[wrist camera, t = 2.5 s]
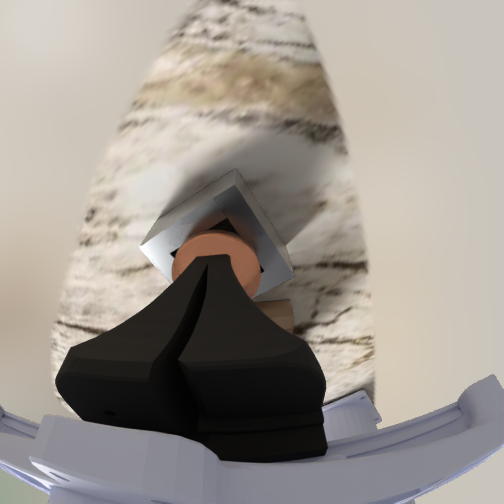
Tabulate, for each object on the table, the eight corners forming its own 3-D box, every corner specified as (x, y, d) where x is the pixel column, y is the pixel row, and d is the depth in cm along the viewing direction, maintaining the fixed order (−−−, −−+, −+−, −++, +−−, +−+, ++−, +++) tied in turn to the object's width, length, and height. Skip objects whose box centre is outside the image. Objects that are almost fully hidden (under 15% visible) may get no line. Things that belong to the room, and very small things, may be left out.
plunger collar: (285, 246, 16) (294, 276, 13) (210, 287, 17) (205, 321, 14) (235, 168, 13) (234, 184, 11) (156, 220, 15) (139, 247, 12)
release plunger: (269, 248, 15) (277, 288, 12) (212, 279, 16) (206, 323, 13) (230, 191, 13) (228, 219, 10) (171, 229, 14) (153, 265, 11)
